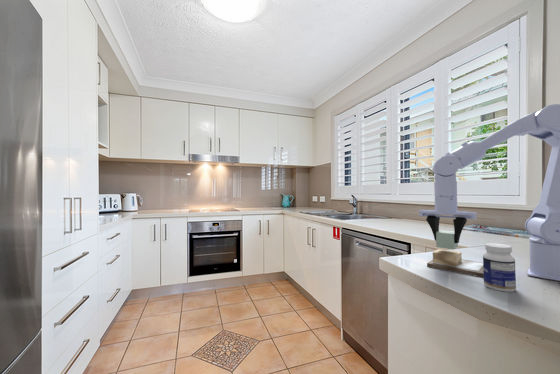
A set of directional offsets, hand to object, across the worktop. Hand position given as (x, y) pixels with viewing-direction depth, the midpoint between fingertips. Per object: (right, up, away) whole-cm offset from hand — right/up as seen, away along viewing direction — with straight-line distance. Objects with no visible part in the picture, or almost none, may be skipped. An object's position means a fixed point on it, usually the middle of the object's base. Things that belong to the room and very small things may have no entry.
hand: (446, 241), depth 75 cm
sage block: (0, -2, 0) cm, 2 cm away
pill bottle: (+1, -7, -17) cm, 19 cm away
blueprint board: (+3, -7, -2) cm, 8 cm away
